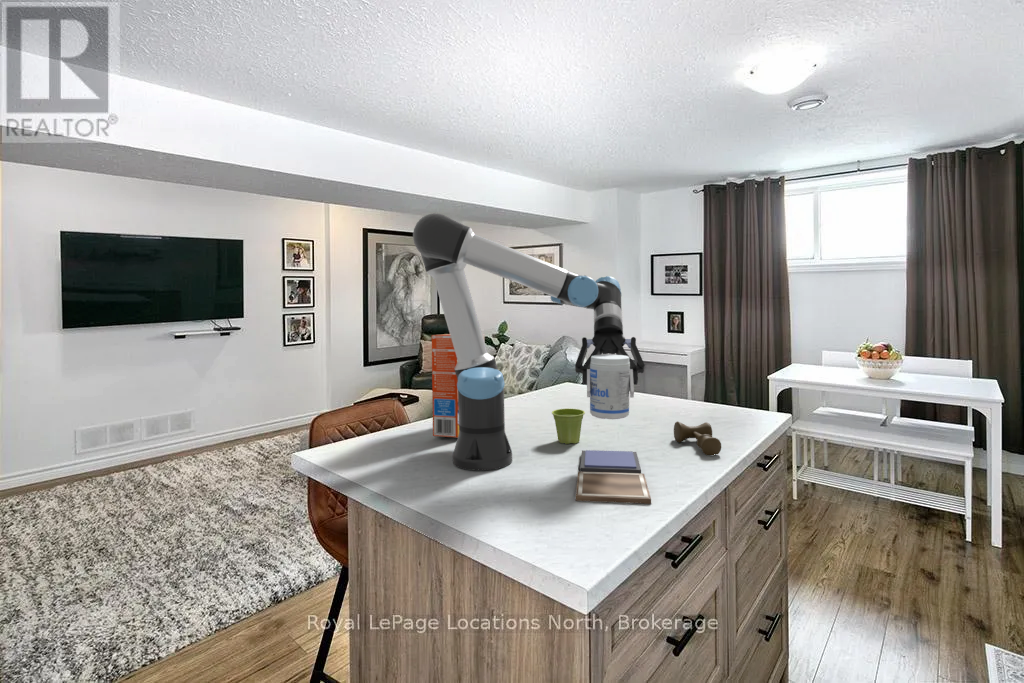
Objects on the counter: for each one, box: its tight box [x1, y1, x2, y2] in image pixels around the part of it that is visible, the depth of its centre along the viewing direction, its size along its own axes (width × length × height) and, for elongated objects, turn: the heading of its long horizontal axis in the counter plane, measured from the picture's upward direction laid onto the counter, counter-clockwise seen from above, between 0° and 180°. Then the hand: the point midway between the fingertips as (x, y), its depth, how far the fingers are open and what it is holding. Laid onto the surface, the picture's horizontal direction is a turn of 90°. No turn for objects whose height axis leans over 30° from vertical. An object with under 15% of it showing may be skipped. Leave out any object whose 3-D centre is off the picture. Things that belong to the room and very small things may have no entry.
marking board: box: [575, 471, 652, 505], centre depth 112 cm, size 15×15×1 cm
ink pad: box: [579, 449, 642, 474], centre depth 128 cm, size 14×14×2 cm
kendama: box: [673, 421, 722, 456], centre depth 143 cm, size 6×10×20 cm
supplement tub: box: [589, 353, 630, 420], centre depth 127 cm, size 10×10×15 cm
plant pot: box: [551, 408, 586, 445], centre depth 149 cm, size 9×9×9 cm
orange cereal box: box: [431, 332, 486, 439], centre depth 163 cm, size 23×8×30 cm, turn 162°
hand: (610, 394), depth 124 cm, fingers closed on supplement tub, 9 cm apart
